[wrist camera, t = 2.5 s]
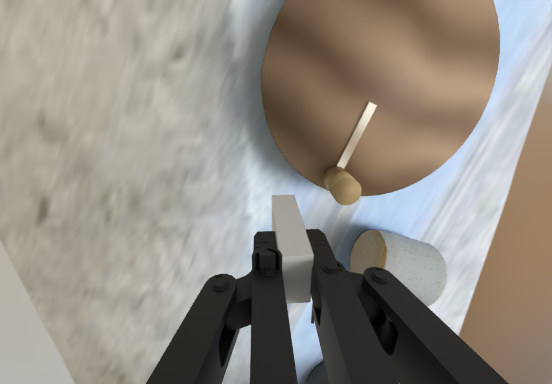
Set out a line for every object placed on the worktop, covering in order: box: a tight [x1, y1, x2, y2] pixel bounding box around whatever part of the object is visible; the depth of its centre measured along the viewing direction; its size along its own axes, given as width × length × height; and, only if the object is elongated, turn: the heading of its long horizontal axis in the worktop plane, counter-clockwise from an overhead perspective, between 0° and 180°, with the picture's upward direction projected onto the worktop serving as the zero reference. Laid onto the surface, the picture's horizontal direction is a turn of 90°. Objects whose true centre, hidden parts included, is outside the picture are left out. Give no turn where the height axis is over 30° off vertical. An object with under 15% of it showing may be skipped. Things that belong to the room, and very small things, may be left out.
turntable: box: [261, 0, 500, 205], centre depth 22 cm, size 21×21×6 cm
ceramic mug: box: [350, 230, 447, 306], centre depth 31 cm, size 11×8×8 cm
